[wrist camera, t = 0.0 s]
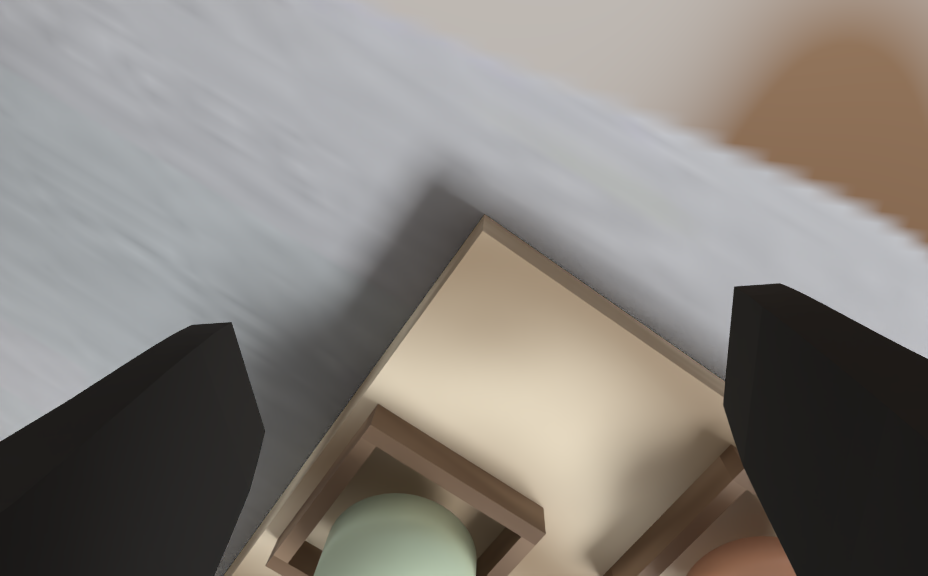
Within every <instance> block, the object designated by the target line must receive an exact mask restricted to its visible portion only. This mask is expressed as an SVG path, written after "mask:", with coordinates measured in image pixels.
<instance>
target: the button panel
mask: <svg viewBox="0 0 928 576" xmlns="http://www.w3.org/2000/svg"><path fill="white" fill-rule="evenodd" d="M724 389H725V381H723V380H722V379H721V378H719V377H718V376H716V375H715V374H713V373H712V372H711V371H709V370H708V369H706V368H705V367H703V366H702V365H700V364H699V363H698V362H696V361H695V360H693V359H692V358H690V357H689V356H688V355H686V354H685V353H683V352H682V351H680V350H679V349H677V348H676V347H675V346H673V345H672V344H670V343H669V342H667V341H666V340H665V339H663V338H662V337H660V336H659V335H657V334H656V333H655V332H653V331H652V330H650V329H649V328H647V327H646V326H644V325H643V324H642V323H640V322H639V321H637V320H636V319H634V318H633V317H632V316H630V315H629V314H627V313H626V312H624V311H623V310H621V309H620V308H619V307H617V306H616V305H614V304H613V303H611V302H610V301H609V300H607V299H606V298H604V297H603V296H601V295H600V294H599V293H597V292H596V291H594V290H593V289H591V288H590V287H588V286H587V285H586V284H584V283H583V282H581V281H580V280H578V279H577V278H576V277H574V276H573V275H571V274H570V273H568V272H567V271H565V270H564V269H563V268H561V267H560V266H558V265H557V264H555V263H554V262H553V261H551V260H550V259H548V258H547V257H545V256H544V255H543V254H541V253H540V252H538V251H537V250H535V249H534V248H532V247H531V246H530V245H528V244H527V243H525V242H524V241H522V240H521V239H520V238H518V237H517V236H515V235H514V234H512V233H511V232H509V231H508V230H507V229H505V228H504V227H502V226H501V225H499V224H498V223H497V222H495V221H494V220H492V219H491V218H489V217H488V216H487V215H485V214H484V216H483V217H482V218H481V220H480V221H479V223H478V224H477V225H476V227H475V228H474V230H473V231H472V232H471V234H470V235H469V236H468V238H467V239H466V241H465V242H464V243H463V245H462V246H461V248H460V249H459V250H458V252H457V253H456V254H455V256H454V257H453V259H452V260H451V261H450V263H449V264H448V266H447V267H446V268H445V270H444V271H443V272H442V274H441V275H440V277H439V278H438V279H437V281H436V282H435V284H434V285H433V286H432V288H431V289H430V290H429V292H428V293H427V295H426V296H425V297H424V299H423V300H422V302H421V303H420V304H419V306H418V307H417V308H416V310H415V311H414V313H413V314H412V315H411V317H410V318H409V320H408V321H407V322H406V324H405V325H404V326H403V328H402V329H401V331H400V332H399V333H398V335H397V336H396V338H395V339H394V340H393V342H392V343H391V344H390V346H389V347H388V349H387V350H386V351H385V353H384V354H383V356H382V357H381V358H380V360H379V361H378V362H377V364H376V365H375V367H374V368H373V369H372V371H371V372H370V374H369V375H368V376H367V378H366V379H365V380H364V382H363V383H362V385H361V386H360V387H359V389H358V390H357V392H356V393H355V394H354V396H353V397H352V398H351V400H350V401H349V403H348V404H347V405H346V407H345V408H344V410H343V411H342V412H341V414H340V415H339V416H338V418H337V419H336V421H335V422H334V423H333V425H332V426H331V427H330V429H329V430H328V432H327V433H326V434H325V436H324V437H323V439H322V440H321V441H320V443H319V444H318V445H317V447H316V448H315V450H314V451H313V452H312V454H311V455H310V457H309V458H308V459H307V461H306V462H305V463H304V465H303V466H302V468H301V469H300V470H299V472H298V473H297V475H296V476H295V477H294V479H293V480H292V481H291V483H290V484H289V486H288V487H287V488H286V490H285V491H284V493H283V494H282V495H281V497H280V498H279V499H278V501H277V502H276V504H275V505H274V506H273V508H272V509H271V511H270V512H269V513H268V515H267V516H266V517H265V519H264V520H263V522H262V523H261V524H260V526H259V527H258V529H257V530H256V531H255V533H254V534H253V535H252V537H251V538H250V540H249V541H248V542H247V544H246V545H245V547H244V548H243V549H242V551H241V552H240V553H239V555H238V556H237V558H236V559H235V560H234V562H233V563H232V565H231V566H230V567H229V569H228V570H227V571H226V573H225V574H224V576H314V573H315V570H316V568H317V565H318V562H319V559H320V556H321V554H322V551H323V548H324V545H325V543H326V540H327V537H328V534H329V532H330V530H331V528H332V526H333V524H334V523H335V521H336V519H337V518H338V517H339V516H340V515H341V514H342V513H343V512H344V511H345V510H346V509H348V508H349V507H350V506H352V505H353V504H355V503H357V502H359V501H361V500H363V499H365V498H368V497H372V496H375V495H380V494H387V493H405V494H411V495H417V496H420V497H424V498H427V499H429V500H432V501H434V502H436V503H438V504H440V505H442V506H444V507H445V508H446V509H448V510H449V511H451V512H452V513H453V514H454V515H455V516H456V517H458V518H459V519H460V521H461V522H462V523H463V524H464V525H465V527H466V528H467V530H468V531H469V533H470V535H471V537H472V539H473V542H474V545H475V549H476V556H477V563H476V576H686V575H687V573H688V572H689V571H690V569H691V568H692V567H693V566H694V565H695V563H696V562H697V561H698V560H700V559H701V558H702V557H703V556H704V555H706V554H707V553H709V552H710V551H712V550H713V549H715V548H717V547H719V546H721V545H723V544H726V543H728V542H731V541H734V540H738V539H742V538H747V537H755V536H773V537H777V535H776V533H775V531H774V529H773V527H772V525H771V523H770V521H769V519H768V517H767V515H766V513H765V511H764V509H763V507H762V505H761V503H760V501H759V499H758V497H757V494H756V492H755V490H754V488H753V486H752V484H751V482H750V480H749V478H748V476H747V474H746V471H745V469H744V467H743V465H742V462H741V459H740V456H739V453H738V450H737V447H736V444H735V441H734V439H733V435H732V432H731V429H730V426H729V423H728V419H727V416H726V413H725V410H724V407H723V399H724Z"/></svg>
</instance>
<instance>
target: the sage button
mask: <svg viewBox="0 0 928 576" xmlns="http://www.w3.org/2000/svg"><path fill="white" fill-rule="evenodd" d="M476 563H477V556H476V549H475V545H474V542H473V539H472V537H471V535H470V533H469V531H468V530H467V528H466V527H465V525H464V524H463V523H462V522H461V521H460V519H459V518H458V517H456V516H455V515H454V514H453V513H452V512H451V511H449V510H448V509H446V508H445V507H444V506H442V505H440V504H438V503H436V502H434V501H432V500H429V499H427V498H424V497H420V496H417V495H411V494H405V493H387V494H380V495H375V496H372V497H368V498H365V499H363V500H361V501H359V502H357V503H355V504H353V505H352V506H350V507H349V508H348V509H346V510H345V511H344V512H343V513H342V514H341V515H340V516H339V517H338V518H337V519H336V521H335V523H334V524H333V526H332V528H331V530H330V532H329V534H328V537H327V540H326V543H325V545H324V548H323V551H322V554H321V556H320V559H319V562H318V565H317V568H316V570H315V573H314V576H476Z"/></svg>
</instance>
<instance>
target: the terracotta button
mask: <svg viewBox="0 0 928 576" xmlns="http://www.w3.org/2000/svg"><path fill="white" fill-rule="evenodd" d="M686 576H796V574H795V572H794V570H793V568H792V566H791V564H790V562H789V559H788V557H787V555H786V553H785V551H784V549H783V547H782V545H781V543H780V541H779V539H778V537H773V536H755V537H747V538H742V539H738V540H734V541H731V542H728V543H726V544H723V545H721V546H719V547H717V548H715V549H713V550H712V551H710V552H709V553H707V554H706V555H704V556H703V557H702V558H701V559H700V560H698V561H697V562H696V563H695V565H694V566H693V567H692V568H691V569H690V571H689V572H688V573H687V575H686Z"/></svg>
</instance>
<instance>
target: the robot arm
mask: <svg viewBox="0 0 928 576" xmlns="http://www.w3.org/2000/svg"><path fill="white" fill-rule="evenodd" d="M723 407H724V410H725V413H726V416H727V419H728V423H729V426H730V429H731V432H732V435H733V439H734V441H735V444H736V447H737V450H738V453H739V456H740V459H741V462H742V465H743V467H744V469H745V471H746V474H747V476H748V478H749V480H750V482H751V484H752V486H753V488H754V490H755V492H756V494H757V497H758V499H759V501H760V503H761V505H762V507H763V509H764V511H765V513H766V515H767V517H768V519H769V521H770V523H771V525H772V527H773V529H774V531H775V533H776V535H777V537H778V539H779V541H780V543H781V545H782V547H783V549H784V551H785V553H786V555H787V557H788V559H789V562H790V564H791V566H792V568H793V570H794V572H795V574H796V576H928V359H927V358H925V357H923V356H921V355H919V354H917V353H915V352H913V351H911V350H909V349H907V348H905V347H903V346H901V345H899V344H897V343H895V342H893V341H892V340H890V339H888V338H886V337H884V336H882V335H880V334H878V333H876V332H874V331H873V330H871V329H869V328H867V327H865V326H863V325H861V324H859V323H858V322H856V321H854V320H852V319H850V318H848V317H846V316H845V315H843V314H841V313H839V312H837V311H835V310H833V309H832V308H830V307H828V306H826V305H824V304H822V303H820V302H818V301H816V300H814V299H812V298H811V297H809V296H807V295H805V294H803V293H801V292H799V291H796V290H794V289H792V288H790V287H787V286H785V285H783V284H780V283H779V284H765V285H751V286H737V287H734V295H733V306H732V316H731V326H730V337H729V347H728V358H727V368H726V378H725V389H724V399H723ZM264 433H265V429H264V426H263V423H262V420H261V416H260V413H259V410H258V407H257V403H256V400H255V397H254V394H253V390H252V387H251V384H250V381H249V377H248V374H247V371H246V368H245V364H244V361H243V358H242V355H241V351H240V348H239V345H238V342H237V338H236V335H235V332H234V329H233V325H232V322H228V323H214V324H200V325H191V326H189V327H187V328H185V329H183V330H181V331H179V332H177V333H175V334H173V335H171V336H170V337H168V338H166V339H165V340H163V341H161V342H159V343H158V344H156V345H155V346H153V347H151V348H150V349H148V350H147V351H145V352H143V353H142V354H140V355H139V356H137V357H135V358H134V359H132V360H131V361H129V362H128V363H126V364H125V365H123V366H121V367H120V368H118V369H117V370H115V371H114V372H112V373H111V374H109V375H107V376H106V377H104V378H103V379H101V380H100V381H98V382H97V383H95V384H93V385H92V386H90V387H89V388H87V389H86V390H84V391H83V392H81V393H79V394H78V395H76V396H75V397H73V398H72V399H70V400H68V401H67V402H65V403H64V404H62V405H60V406H59V407H57V408H55V409H54V410H52V411H50V412H49V413H47V414H45V415H44V416H42V417H40V418H39V419H37V420H35V421H34V422H32V423H30V424H29V425H27V426H25V427H24V428H22V429H20V430H19V431H17V432H15V433H14V434H12V435H11V436H9V437H7V438H6V439H4V440H2V441H1V442H0V576H214V574H215V572H216V570H217V567H218V565H219V563H220V560H221V558H222V556H223V553H224V551H225V549H226V546H227V544H228V542H229V539H230V537H231V535H232V532H233V530H234V527H235V525H236V523H237V520H238V518H239V515H240V513H241V511H242V508H243V506H244V503H245V501H246V498H247V496H248V493H249V491H250V487H251V483H252V480H253V476H254V473H255V469H256V466H257V462H258V458H259V454H260V450H261V446H262V441H263V437H264Z"/></svg>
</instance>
